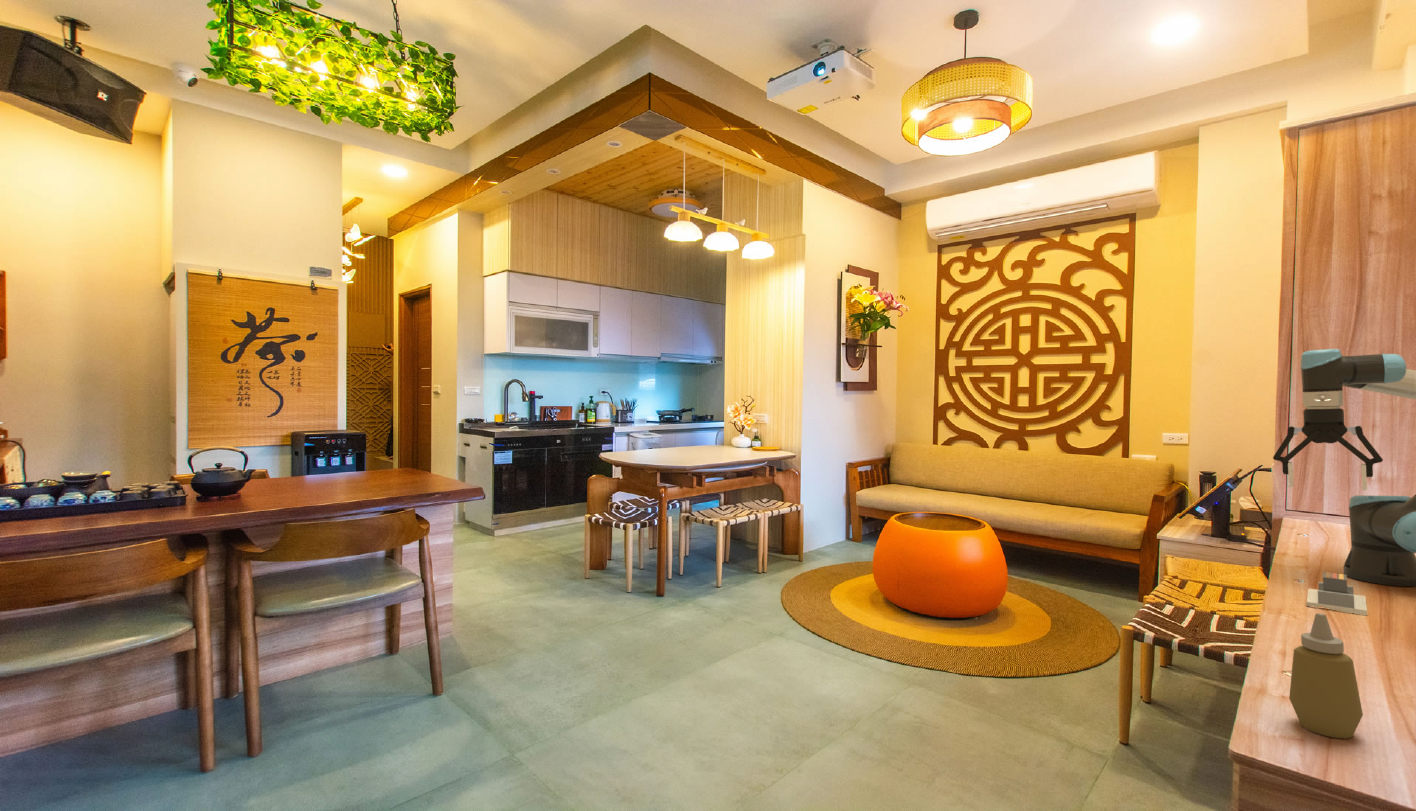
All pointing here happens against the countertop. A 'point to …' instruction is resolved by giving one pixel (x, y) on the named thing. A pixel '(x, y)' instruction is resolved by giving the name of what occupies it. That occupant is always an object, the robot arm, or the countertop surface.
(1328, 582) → the plug
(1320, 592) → the board
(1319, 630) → the squeeze bottle
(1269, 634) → the countertop surface
